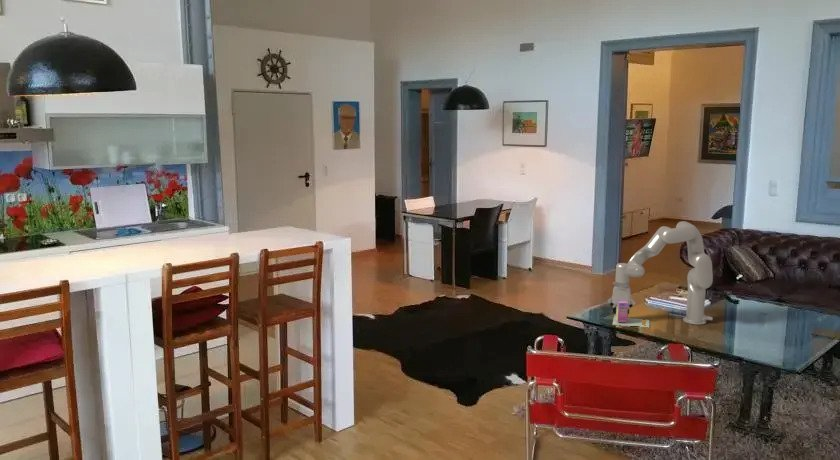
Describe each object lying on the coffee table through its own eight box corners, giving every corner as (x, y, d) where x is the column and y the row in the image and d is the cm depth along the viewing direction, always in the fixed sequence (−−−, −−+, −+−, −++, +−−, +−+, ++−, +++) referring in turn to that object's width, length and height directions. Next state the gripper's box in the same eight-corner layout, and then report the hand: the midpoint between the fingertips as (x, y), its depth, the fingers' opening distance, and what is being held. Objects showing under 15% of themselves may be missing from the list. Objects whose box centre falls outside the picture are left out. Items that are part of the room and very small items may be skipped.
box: (627, 322, 385) (628, 302, 383) (617, 322, 386) (618, 302, 383) (624, 315, 396) (625, 296, 393) (614, 315, 396) (615, 296, 393)
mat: (649, 320, 393) (649, 319, 393) (649, 328, 380) (649, 327, 380) (613, 317, 399) (613, 316, 399) (612, 324, 386) (612, 323, 386)
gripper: (606, 285, 386) (605, 315, 390) (637, 287, 381) (636, 317, 384) (606, 282, 393) (605, 311, 397) (637, 284, 388) (636, 313, 391)
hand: (620, 314), depth 390 cm, fingers closed on box, 6 cm apart
